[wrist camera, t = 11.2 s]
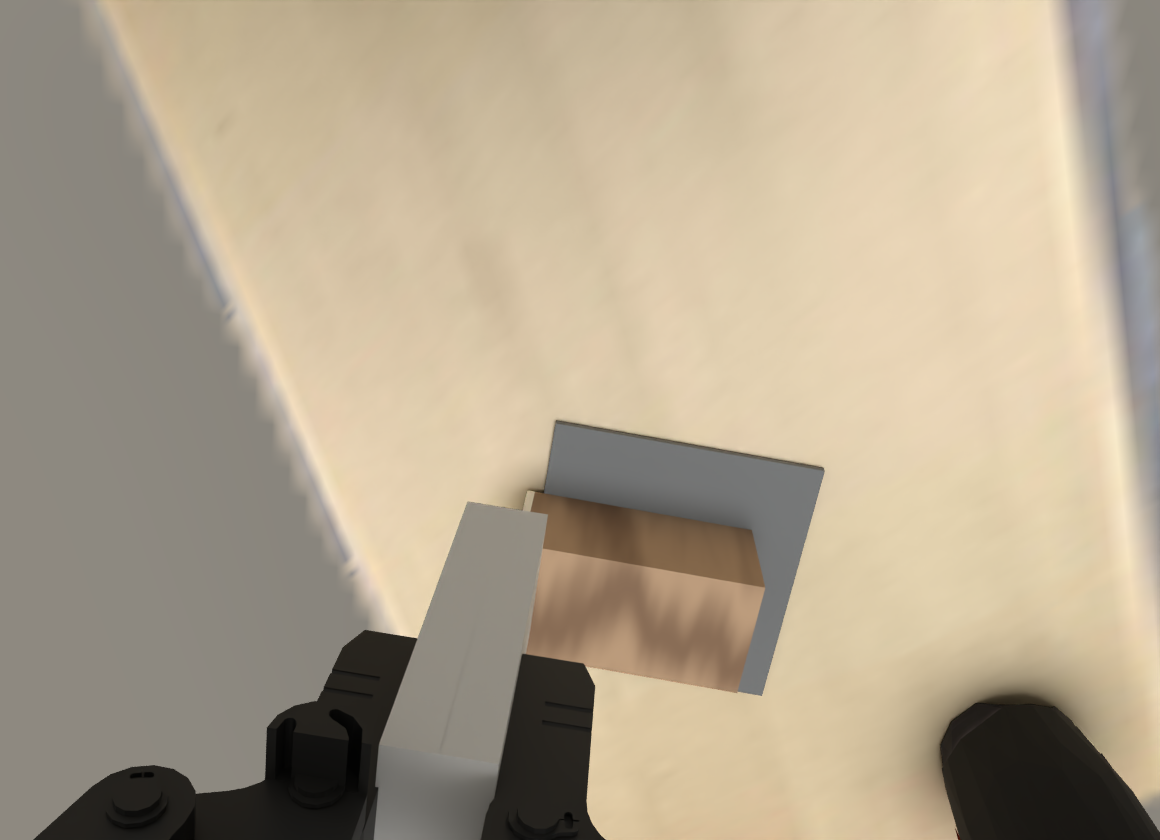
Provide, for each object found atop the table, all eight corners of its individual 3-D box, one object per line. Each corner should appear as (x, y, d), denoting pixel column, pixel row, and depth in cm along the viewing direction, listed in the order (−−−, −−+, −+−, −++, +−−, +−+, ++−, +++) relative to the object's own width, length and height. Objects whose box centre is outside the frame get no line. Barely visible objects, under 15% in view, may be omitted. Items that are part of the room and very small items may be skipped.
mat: (556, 420, 51) (555, 423, 51) (823, 468, 51) (824, 471, 51) (517, 648, 56) (516, 652, 56) (761, 691, 56) (761, 695, 56)
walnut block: (514, 543, 47) (765, 587, 47) (527, 490, 52) (751, 530, 52) (496, 650, 49) (737, 692, 49) (511, 588, 54) (727, 626, 55)
